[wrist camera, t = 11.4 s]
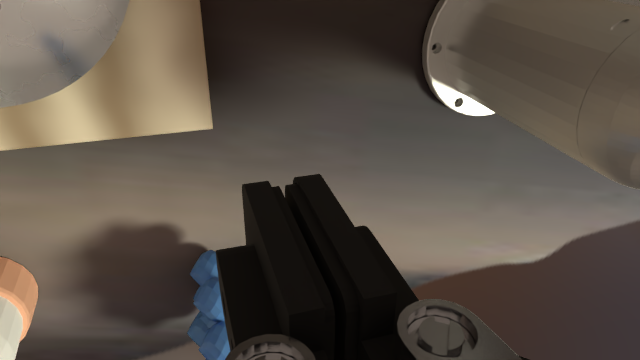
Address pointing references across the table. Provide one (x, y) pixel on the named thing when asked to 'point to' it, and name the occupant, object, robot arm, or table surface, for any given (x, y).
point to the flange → (52, 44)
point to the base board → (126, 85)
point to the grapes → (209, 310)
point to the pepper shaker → (15, 305)
